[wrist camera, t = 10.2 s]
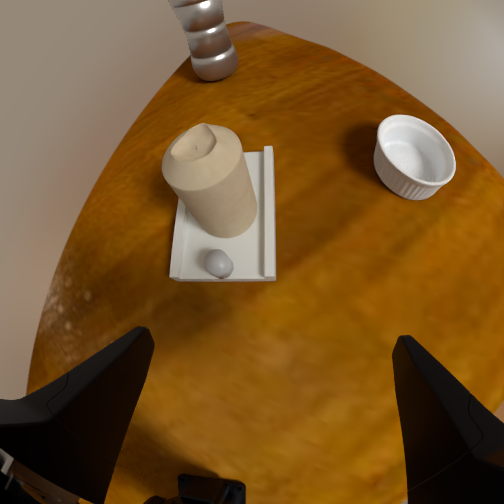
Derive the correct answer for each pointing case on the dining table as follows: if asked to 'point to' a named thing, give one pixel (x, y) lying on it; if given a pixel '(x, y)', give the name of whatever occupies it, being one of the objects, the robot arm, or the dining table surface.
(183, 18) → the plastic bottle
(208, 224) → the candle
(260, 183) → the tray
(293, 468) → the dining table surface
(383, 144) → the ramekin
